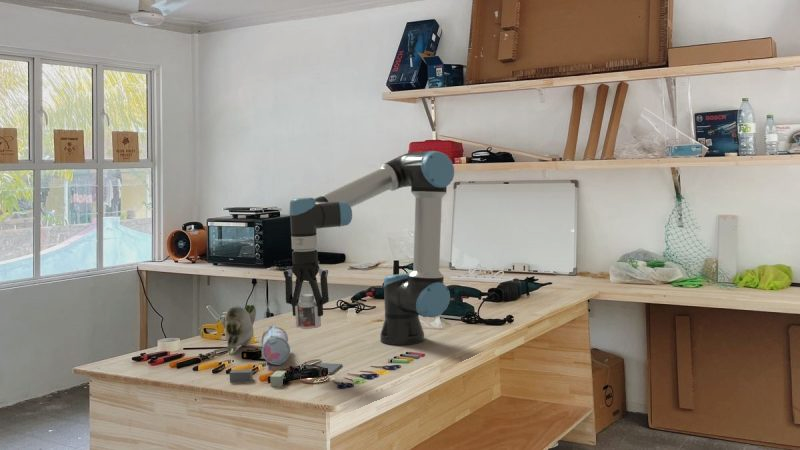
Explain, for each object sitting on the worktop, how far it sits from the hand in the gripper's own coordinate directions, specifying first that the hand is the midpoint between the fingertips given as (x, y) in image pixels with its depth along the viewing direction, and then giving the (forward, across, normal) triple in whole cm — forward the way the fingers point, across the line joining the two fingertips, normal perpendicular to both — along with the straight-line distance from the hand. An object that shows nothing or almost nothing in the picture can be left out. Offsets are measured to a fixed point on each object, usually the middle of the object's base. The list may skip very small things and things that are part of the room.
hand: (308, 326), depth 243 cm
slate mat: (+13, +3, +1) cm, 14 cm away
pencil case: (+14, -16, +11) cm, 24 cm away
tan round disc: (+13, +5, -10) cm, 18 cm away
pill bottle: (+1, 0, 0) cm, 1 cm away
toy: (+13, -34, +24) cm, 44 cm away
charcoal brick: (+13, -16, -15) cm, 25 cm away
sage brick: (+13, -4, -16) cm, 21 cm away
